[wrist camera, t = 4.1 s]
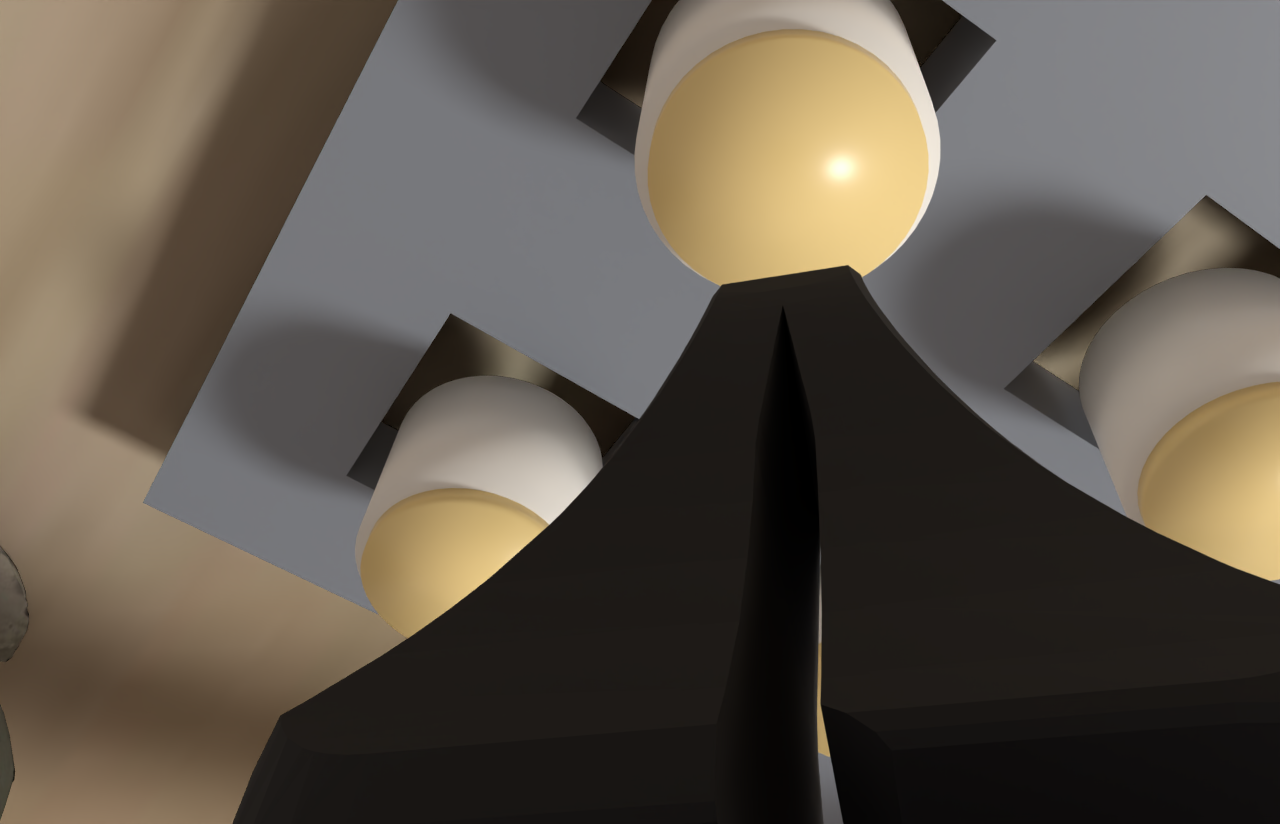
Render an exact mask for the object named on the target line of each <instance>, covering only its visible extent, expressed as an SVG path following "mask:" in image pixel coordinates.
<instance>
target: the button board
mask: <svg viewBox="0 0 1280 824" xmlns="http://www.w3.org/2000/svg"><path fill="white" fill-rule="evenodd" d="M651 1H652V0H398V1H397V3H396V5H395V7H394V9H393V11H392V13H391V15H390V17H389V19H388V21H387V23H386V25H385V27H384V29H383V31H382V33H381V35H380V37H379V39H378V41H377V43H376V45H375V47H374V49H373V51H372V53H371V55H370V56H369V58H368V60H367V62H366V64H365V66H364V68H363V70H362V72H361V74H360V76H359V78H358V80H357V82H356V84H355V86H354V88H353V90H352V92H351V94H350V96H349V98H348V100H347V102H346V104H345V106H344V108H343V110H342V112H341V114H340V116H339V118H338V119H337V121H336V123H335V125H334V127H333V129H332V131H331V133H330V135H329V137H328V139H327V141H326V143H325V145H324V147H323V149H322V151H321V153H320V155H319V157H318V159H317V161H316V163H315V165H314V167H313V169H312V171H311V173H310V175H309V177H308V179H307V181H306V182H305V184H304V186H303V188H302V190H301V192H300V194H299V196H298V198H297V200H296V202H295V204H294V206H293V208H292V210H291V212H290V214H289V216H288V218H287V220H286V222H285V224H284V226H283V228H282V230H281V232H280V234H279V236H278V238H277V240H276V242H275V244H274V245H273V247H272V249H271V251H270V253H269V255H268V257H267V259H266V261H265V263H264V265H263V267H262V269H261V271H260V273H259V275H258V277H257V279H256V281H255V283H254V285H253V287H252V289H251V291H250V293H249V295H248V297H247V299H246V301H245V303H244V305H243V307H242V308H241V310H240V312H239V314H238V316H237V318H236V320H235V322H234V324H233V326H232V328H231V330H230V332H229V334H228V336H227V338H226V340H225V342H224V344H223V346H222V348H221V350H220V352H219V354H218V356H217V358H216V360H215V362H214V364H213V366H212V368H211V370H210V371H209V373H208V375H207V377H206V379H205V381H204V383H203V385H202V387H201V389H200V391H199V393H198V395H197V397H196V399H195V401H194V403H193V405H192V407H191V409H190V411H189V413H188V415H187V417H186V419H185V421H184V423H183V425H182V427H181V429H180V431H179V433H178V434H177V436H176V438H175V440H174V442H173V444H172V446H171V448H170V450H169V452H168V454H167V456H166V458H165V460H164V462H163V464H162V466H161V468H160V470H159V472H158V474H157V476H156V478H155V480H154V482H153V484H152V486H151V488H150V490H149V492H148V494H147V496H146V497H145V499H144V501H143V503H145V504H147V505H149V506H151V507H153V508H155V509H157V510H159V511H161V512H164V513H166V514H168V515H170V516H172V517H174V518H176V519H178V520H180V521H182V522H185V523H187V524H189V525H191V526H193V527H195V528H197V529H199V530H201V531H204V532H206V533H208V534H210V535H212V536H214V537H216V538H218V539H220V540H222V541H225V542H227V543H229V544H231V545H233V546H235V547H237V548H239V549H241V550H244V551H246V552H248V553H250V554H252V555H254V556H256V557H258V558H260V559H262V560H265V561H267V562H269V563H271V564H273V565H275V566H277V567H279V568H281V569H284V570H286V571H288V572H290V573H292V574H294V575H296V576H298V577H300V578H302V579H305V580H307V581H309V582H311V583H313V584H315V585H317V586H319V587H321V588H324V589H326V590H328V591H330V592H332V593H334V594H336V595H338V596H340V597H343V598H345V599H347V600H349V601H351V602H353V603H355V604H357V605H359V606H361V607H364V608H366V609H368V610H370V611H372V612H374V613H376V614H378V613H377V611H376V610H375V609H374V607H373V606H372V605H371V603H370V601H369V599H368V598H367V596H366V593H365V590H364V588H363V585H362V580H361V577H360V575H359V572H358V569H357V564H356V560H355V544H356V537H357V534H358V531H359V528H360V525H361V523H362V520H363V518H364V515H365V513H366V510H367V508H368V506H369V503H370V501H371V498H372V496H373V493H374V491H375V488H376V486H377V483H378V481H379V478H380V476H381V473H382V471H383V468H384V466H385V463H386V461H387V458H388V456H389V453H390V451H391V448H392V446H393V443H394V441H395V438H396V436H397V433H398V430H396V429H394V428H392V427H390V426H388V425H386V424H384V423H382V422H381V421H382V419H383V418H384V416H385V415H386V413H387V411H388V410H389V408H390V407H391V405H392V404H393V402H394V401H395V399H396V397H397V396H398V394H399V393H400V391H401V390H402V388H403V387H404V385H405V383H406V382H407V380H408V379H409V377H410V376H411V374H412V373H413V371H414V369H415V368H416V366H417V365H418V363H419V362H420V360H421V359H422V357H423V355H424V354H425V352H426V351H427V349H428V348H429V346H430V345H431V343H432V341H433V340H434V338H435V337H436V335H437V334H438V332H439V331H440V329H441V327H442V326H443V324H444V323H445V321H446V320H447V318H448V317H449V315H450V313H451V314H453V315H455V316H456V317H458V318H460V319H462V320H464V321H465V322H467V323H469V324H471V325H472V326H474V327H476V328H478V329H480V330H481V331H483V332H485V333H487V334H488V335H490V336H492V337H494V338H496V339H497V340H499V341H501V342H503V343H504V344H506V345H508V346H510V347H512V348H513V349H515V350H517V351H519V352H520V353H522V354H524V355H526V356H528V357H529V358H531V359H533V360H535V361H537V362H538V363H540V364H542V365H544V366H545V367H547V368H549V369H551V370H553V371H554V372H556V373H558V374H560V375H561V376H563V377H565V378H567V379H569V380H570V381H572V382H574V383H576V384H577V385H579V386H581V387H583V388H585V389H586V390H588V391H590V392H592V393H593V394H595V395H597V396H599V397H601V398H602V399H604V400H606V401H608V402H610V403H611V404H613V405H615V406H617V407H618V408H620V409H622V410H624V411H626V412H627V413H629V414H631V415H633V416H634V417H636V418H635V419H634V420H633V421H632V423H631V424H630V425H629V426H628V427H627V429H626V430H625V431H624V432H623V434H622V435H621V436H620V437H619V439H618V440H617V441H616V442H615V443H614V445H613V446H612V447H611V448H610V450H609V451H608V452H607V453H606V455H605V456H604V457H603V458H602V465H603V466H604V465H605V464H606V463H607V461H608V460H609V459H610V458H611V456H612V455H613V454H614V453H615V451H616V450H617V448H618V447H619V446H620V444H621V443H622V442H623V440H624V439H625V438H626V436H627V435H628V434H629V432H630V431H631V429H632V428H633V427H634V425H635V424H636V423H637V421H638V420H639V419H640V417H641V416H642V415H643V413H644V412H645V411H646V409H647V408H648V406H649V405H650V403H651V402H652V400H653V399H654V397H655V396H656V394H657V392H658V391H659V389H660V388H661V386H662V385H663V383H664V381H665V380H666V378H667V377H668V375H669V373H670V372H671V370H672V369H673V367H674V366H675V364H676V362H677V361H678V359H679V358H680V356H681V354H682V352H683V351H684V349H685V347H686V345H687V344H688V342H689V340H690V338H691V337H692V335H693V333H694V331H695V329H696V328H697V326H698V324H699V322H700V320H701V318H702V316H703V314H704V312H705V311H706V309H707V307H708V305H709V303H710V301H711V299H712V297H713V295H714V294H715V293H716V292H717V290H718V289H719V288H720V287H721V286H719V285H717V284H715V283H713V282H711V281H709V280H707V279H706V278H704V277H702V276H700V275H698V274H697V273H696V272H694V271H693V270H691V269H690V268H688V267H687V266H686V265H684V264H683V263H682V262H681V261H680V260H679V259H678V258H677V257H676V256H674V255H673V254H672V253H671V252H670V250H669V249H668V248H667V247H666V246H665V245H664V243H663V242H662V241H661V240H660V238H659V237H658V235H657V234H656V232H655V231H654V229H653V227H652V226H651V224H650V222H649V220H648V218H647V216H646V214H645V211H644V209H643V206H642V203H641V200H640V197H639V194H638V189H637V183H636V177H635V158H634V154H635V146H636V137H637V132H638V126H639V121H640V116H641V111H642V108H640V107H638V106H637V105H635V104H634V103H632V102H631V101H629V100H628V99H626V98H625V97H623V96H621V95H620V94H618V93H617V92H615V91H614V90H612V89H611V88H609V87H608V86H606V85H604V84H603V83H601V82H600V80H601V78H602V77H603V75H604V74H605V72H606V71H607V69H608V68H609V66H610V64H611V63H612V61H613V60H614V58H615V57H616V55H617V54H618V52H619V50H620V49H621V47H622V46H623V44H624V43H625V41H626V40H627V38H628V36H629V35H630V33H631V32H632V30H633V29H634V27H635V26H636V24H637V22H638V21H639V19H640V18H641V16H642V15H643V13H644V12H645V10H646V8H647V7H648V5H649V4H650V2H651ZM942 1H944V2H945V3H946V4H948V5H949V6H951V7H952V8H953V9H955V10H956V11H957V12H959V13H960V14H961V15H963V16H962V17H961V19H960V20H959V21H958V22H957V23H956V25H955V26H954V27H953V28H952V30H951V31H950V32H949V33H948V35H947V36H946V37H945V38H944V39H943V41H942V42H941V43H940V44H939V46H938V47H937V48H936V49H935V50H934V52H933V53H932V54H931V55H930V57H929V58H928V59H927V60H926V62H925V63H924V64H923V65H922V66H921V68H920V70H921V73H922V76H923V79H924V81H925V84H926V87H927V90H928V92H929V95H930V98H931V101H932V104H933V107H934V110H935V114H936V117H937V120H938V127H939V134H940V165H939V172H938V178H937V181H936V185H935V189H934V192H933V195H932V198H931V200H930V202H929V205H928V207H927V209H926V212H925V213H924V215H923V217H922V218H921V220H920V222H919V223H918V225H917V227H916V228H915V230H914V231H913V232H912V234H911V235H910V236H909V237H908V239H907V240H906V241H905V243H904V244H903V245H902V246H901V247H900V248H899V249H898V250H897V251H896V252H895V253H894V254H893V255H892V256H891V257H889V258H888V259H887V260H886V261H884V262H883V263H882V264H881V265H879V266H878V267H877V268H875V269H874V270H872V271H871V272H870V273H868V274H867V275H865V276H863V277H862V279H863V281H864V283H865V285H866V287H867V289H868V291H869V292H870V294H871V295H872V297H873V299H874V300H875V302H876V303H877V305H878V306H879V307H880V309H881V310H882V312H883V313H884V314H885V316H886V317H887V318H888V320H889V321H890V322H891V324H892V325H893V326H894V328H895V329H896V330H897V331H898V332H899V334H900V335H901V336H902V337H903V339H904V340H905V341H906V342H907V343H908V344H909V345H910V347H911V348H912V349H913V350H914V351H915V352H916V353H917V354H918V355H919V357H920V358H921V359H922V360H923V361H924V362H925V363H926V364H927V365H928V367H929V368H930V369H931V370H932V371H933V372H934V373H935V374H936V375H937V376H938V377H939V378H940V379H941V380H942V381H943V382H944V383H945V384H946V385H947V386H948V387H949V388H950V389H951V390H952V391H953V392H954V393H955V394H956V395H957V396H958V397H959V398H960V399H961V400H962V401H964V402H965V403H966V404H967V405H968V406H969V407H970V408H971V409H972V410H973V411H974V412H975V413H976V414H978V415H979V416H980V417H981V418H982V419H983V420H985V421H986V422H987V423H988V424H989V425H990V426H992V427H993V428H994V429H995V430H996V431H998V432H999V433H1000V434H1001V435H1002V436H1004V437H1005V438H1006V439H1007V440H1009V441H1010V442H1011V443H1012V444H1014V445H1015V446H1017V447H1018V448H1019V449H1021V450H1022V451H1023V452H1025V453H1026V454H1027V455H1029V456H1030V457H1031V458H1033V459H1034V460H1035V461H1037V462H1038V463H1039V464H1041V465H1042V466H1043V467H1045V468H1046V469H1048V470H1049V471H1051V472H1052V473H1054V474H1055V475H1057V476H1058V477H1060V478H1061V479H1063V480H1064V481H1066V482H1067V483H1069V484H1071V485H1072V486H1074V487H1076V488H1077V489H1079V490H1081V491H1083V492H1084V493H1086V494H1088V495H1090V496H1091V497H1093V498H1095V499H1097V500H1098V501H1100V502H1102V503H1103V504H1105V505H1107V506H1109V507H1110V508H1112V509H1114V510H1116V511H1117V512H1119V513H1121V514H1122V515H1124V516H1126V513H1125V511H1124V508H1123V506H1122V503H1121V501H1120V499H1119V496H1118V494H1117V491H1116V489H1115V486H1114V484H1113V481H1112V479H1111V476H1110V474H1109V472H1108V469H1107V467H1106V464H1105V462H1104V459H1103V457H1102V454H1101V452H1100V450H1099V447H1098V445H1097V442H1096V440H1095V437H1094V435H1093V432H1092V430H1091V427H1090V425H1089V423H1088V420H1087V418H1086V415H1085V413H1084V410H1083V407H1082V404H1081V400H1080V394H1079V391H1078V390H1076V389H1075V388H1073V387H1071V386H1070V385H1068V384H1067V383H1065V382H1064V381H1062V380H1061V379H1059V378H1058V377H1056V376H1054V375H1053V374H1051V373H1050V372H1048V371H1047V370H1045V369H1044V368H1042V367H1041V366H1039V365H1037V364H1036V363H1034V362H1033V360H1034V359H1035V358H1036V357H1037V356H1038V355H1039V354H1040V353H1042V352H1043V351H1044V350H1045V349H1046V348H1047V347H1048V346H1049V345H1050V344H1051V343H1052V342H1053V341H1054V340H1055V339H1056V338H1057V337H1058V336H1059V335H1060V334H1061V333H1062V332H1063V331H1065V330H1066V329H1067V328H1068V327H1069V326H1070V325H1071V324H1072V323H1073V322H1074V321H1075V320H1076V319H1077V318H1078V317H1079V316H1080V315H1081V314H1082V313H1083V312H1084V311H1085V310H1086V309H1088V308H1089V307H1090V306H1091V305H1092V304H1093V303H1094V302H1095V301H1096V300H1097V299H1098V298H1099V297H1100V296H1101V295H1102V294H1103V293H1104V292H1105V291H1106V290H1107V289H1108V288H1109V287H1110V286H1112V285H1113V284H1114V283H1115V282H1116V281H1117V280H1118V279H1119V278H1120V277H1121V276H1122V275H1123V274H1124V273H1125V272H1126V271H1127V270H1128V269H1129V268H1130V267H1131V266H1132V265H1133V264H1135V263H1136V262H1137V261H1138V260H1139V259H1140V258H1141V257H1142V256H1143V255H1144V254H1145V253H1146V252H1147V251H1148V250H1149V249H1150V248H1151V247H1152V246H1153V245H1154V244H1155V243H1156V242H1157V241H1159V240H1160V239H1161V238H1162V237H1163V236H1164V235H1165V234H1166V233H1167V232H1168V231H1169V230H1170V229H1171V228H1172V227H1173V226H1174V225H1175V224H1176V223H1177V222H1178V221H1179V220H1180V219H1182V218H1183V217H1184V216H1185V215H1186V214H1187V213H1188V212H1189V211H1190V210H1191V209H1192V208H1193V207H1194V206H1195V205H1196V204H1197V203H1198V202H1199V201H1200V200H1201V199H1202V198H1203V197H1205V196H1206V195H1207V196H1209V197H1210V198H1211V199H1213V200H1214V201H1215V202H1217V203H1218V204H1219V205H1221V206H1222V207H1224V208H1225V209H1226V210H1228V211H1229V212H1230V213H1232V214H1233V215H1234V216H1236V217H1237V218H1238V219H1240V220H1241V221H1243V222H1244V223H1245V224H1247V225H1248V226H1249V227H1251V228H1252V229H1253V230H1255V231H1256V232H1257V233H1259V234H1260V235H1262V236H1263V237H1264V238H1266V239H1267V240H1268V241H1270V242H1271V243H1272V244H1274V245H1275V246H1276V247H1278V248H1279V249H1280V0H942ZM1126 517H1127V516H1126ZM820 564H821V552H820ZM1272 582H1275V583H1277V584H1280V579H1278V580H1272ZM378 615H379V614H378ZM818 761H819V773H820V785H821V797H822V809H823V821H824V824H843V820H842V815H841V809H840V804H839V799H838V794H837V789H836V783H835V778H834V773H833V768H832V763H831V757H828V756H826V755H823V754H821V753H819V752H818Z"/></svg>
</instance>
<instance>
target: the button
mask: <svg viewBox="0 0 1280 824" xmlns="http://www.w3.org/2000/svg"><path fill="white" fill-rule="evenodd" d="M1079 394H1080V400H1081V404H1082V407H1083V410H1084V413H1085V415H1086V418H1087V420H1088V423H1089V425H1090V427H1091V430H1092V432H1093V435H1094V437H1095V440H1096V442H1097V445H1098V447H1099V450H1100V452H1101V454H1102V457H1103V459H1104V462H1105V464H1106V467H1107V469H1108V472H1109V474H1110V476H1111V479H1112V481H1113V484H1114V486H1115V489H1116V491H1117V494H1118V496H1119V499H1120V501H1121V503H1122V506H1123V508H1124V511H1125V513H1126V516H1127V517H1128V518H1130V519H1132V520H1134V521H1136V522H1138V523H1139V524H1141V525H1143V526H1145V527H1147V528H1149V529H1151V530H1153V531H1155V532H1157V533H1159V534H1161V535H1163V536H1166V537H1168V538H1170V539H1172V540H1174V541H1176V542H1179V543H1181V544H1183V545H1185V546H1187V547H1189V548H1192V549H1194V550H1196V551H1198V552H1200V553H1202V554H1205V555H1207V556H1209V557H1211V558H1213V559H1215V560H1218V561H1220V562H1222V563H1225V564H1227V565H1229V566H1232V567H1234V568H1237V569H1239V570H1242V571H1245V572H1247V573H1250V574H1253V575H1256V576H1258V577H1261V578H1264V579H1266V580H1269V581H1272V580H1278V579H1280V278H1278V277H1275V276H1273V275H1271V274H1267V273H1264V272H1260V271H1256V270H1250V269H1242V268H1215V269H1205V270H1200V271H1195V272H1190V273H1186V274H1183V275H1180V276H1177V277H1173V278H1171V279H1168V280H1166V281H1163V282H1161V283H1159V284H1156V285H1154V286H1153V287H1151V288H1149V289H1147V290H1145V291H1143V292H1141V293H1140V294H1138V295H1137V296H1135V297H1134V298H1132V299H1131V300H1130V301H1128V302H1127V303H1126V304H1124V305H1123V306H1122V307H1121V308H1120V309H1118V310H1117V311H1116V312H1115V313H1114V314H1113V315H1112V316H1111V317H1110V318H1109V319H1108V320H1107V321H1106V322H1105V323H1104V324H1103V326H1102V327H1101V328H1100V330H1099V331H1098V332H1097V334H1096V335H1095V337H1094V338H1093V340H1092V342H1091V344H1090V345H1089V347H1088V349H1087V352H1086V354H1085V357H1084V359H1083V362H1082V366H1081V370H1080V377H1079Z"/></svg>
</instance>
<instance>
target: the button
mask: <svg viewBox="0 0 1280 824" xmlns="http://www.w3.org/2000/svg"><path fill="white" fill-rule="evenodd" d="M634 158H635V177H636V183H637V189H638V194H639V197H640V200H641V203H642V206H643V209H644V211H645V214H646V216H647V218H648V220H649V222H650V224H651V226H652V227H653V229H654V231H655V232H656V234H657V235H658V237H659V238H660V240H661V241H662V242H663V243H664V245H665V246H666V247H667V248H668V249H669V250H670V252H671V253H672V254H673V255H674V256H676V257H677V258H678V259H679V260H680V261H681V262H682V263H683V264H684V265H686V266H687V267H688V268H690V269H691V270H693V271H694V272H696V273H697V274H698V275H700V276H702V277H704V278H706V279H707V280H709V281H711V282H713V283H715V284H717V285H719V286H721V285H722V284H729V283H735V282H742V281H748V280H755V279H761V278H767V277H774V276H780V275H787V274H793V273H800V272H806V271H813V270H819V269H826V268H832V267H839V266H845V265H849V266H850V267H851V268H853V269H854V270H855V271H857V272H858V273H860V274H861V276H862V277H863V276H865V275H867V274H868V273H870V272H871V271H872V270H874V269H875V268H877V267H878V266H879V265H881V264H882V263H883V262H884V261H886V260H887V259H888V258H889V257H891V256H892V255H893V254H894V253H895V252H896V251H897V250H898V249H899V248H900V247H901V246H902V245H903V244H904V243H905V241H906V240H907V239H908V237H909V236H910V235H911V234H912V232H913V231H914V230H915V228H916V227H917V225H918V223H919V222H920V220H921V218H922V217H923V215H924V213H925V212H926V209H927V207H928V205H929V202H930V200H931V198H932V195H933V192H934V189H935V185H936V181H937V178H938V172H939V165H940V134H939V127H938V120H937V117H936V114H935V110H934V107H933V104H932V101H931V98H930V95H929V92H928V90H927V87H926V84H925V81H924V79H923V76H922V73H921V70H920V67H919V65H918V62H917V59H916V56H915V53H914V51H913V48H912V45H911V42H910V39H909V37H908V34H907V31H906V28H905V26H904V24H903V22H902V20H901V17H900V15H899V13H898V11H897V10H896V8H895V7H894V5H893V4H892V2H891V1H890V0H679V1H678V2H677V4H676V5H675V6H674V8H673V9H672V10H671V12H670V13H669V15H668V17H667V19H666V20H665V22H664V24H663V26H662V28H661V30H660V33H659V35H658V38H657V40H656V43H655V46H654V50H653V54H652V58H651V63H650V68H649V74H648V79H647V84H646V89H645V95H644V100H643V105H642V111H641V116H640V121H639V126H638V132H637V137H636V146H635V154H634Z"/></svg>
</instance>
